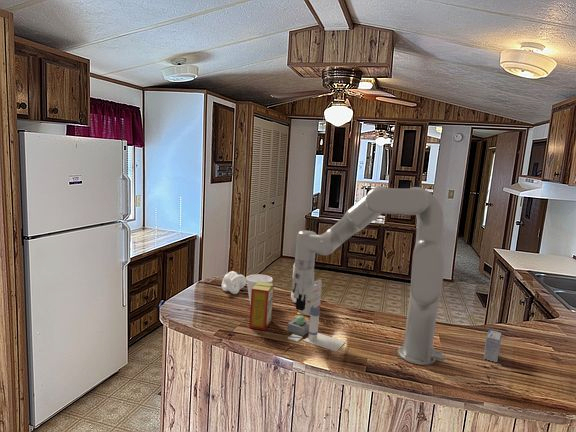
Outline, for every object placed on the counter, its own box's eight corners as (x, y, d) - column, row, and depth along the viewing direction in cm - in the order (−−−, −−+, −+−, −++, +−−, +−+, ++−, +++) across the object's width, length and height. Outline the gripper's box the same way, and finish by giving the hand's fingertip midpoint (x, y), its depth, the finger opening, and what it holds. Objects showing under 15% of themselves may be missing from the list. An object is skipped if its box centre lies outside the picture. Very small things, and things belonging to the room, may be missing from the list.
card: (302, 337, 148) (302, 336, 148) (297, 341, 145) (297, 340, 144) (292, 334, 150) (292, 333, 150) (287, 338, 147) (287, 337, 146)
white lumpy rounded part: (214, 290, 192) (215, 272, 190) (232, 285, 201) (233, 268, 200) (229, 296, 185) (230, 278, 183) (248, 291, 194) (249, 273, 192)
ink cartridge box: (310, 307, 178) (313, 276, 176) (319, 311, 176) (322, 279, 173) (299, 313, 172) (302, 280, 170) (308, 316, 169) (311, 283, 167)
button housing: (311, 329, 156) (311, 322, 155) (303, 336, 150) (303, 328, 149) (295, 324, 159) (296, 317, 159) (286, 331, 153) (287, 323, 153)
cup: (270, 311, 171) (272, 283, 169) (242, 309, 171) (244, 281, 169) (271, 301, 183) (273, 275, 181) (246, 299, 183) (247, 273, 181)
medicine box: (496, 363, 140) (500, 340, 138) (482, 359, 142) (486, 336, 141) (498, 355, 146) (502, 332, 145) (485, 351, 149) (488, 329, 147)
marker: (318, 339, 147) (321, 309, 146) (314, 342, 144) (317, 311, 143) (310, 336, 149) (313, 306, 147) (306, 340, 146) (309, 309, 144)
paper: (345, 342, 147) (345, 341, 147) (336, 351, 139) (336, 350, 139) (314, 332, 153) (314, 331, 153) (303, 341, 146) (303, 340, 146)
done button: (305, 326, 155) (306, 316, 154) (301, 329, 152) (302, 319, 151) (297, 324, 156) (298, 314, 156) (293, 327, 153) (294, 317, 153)
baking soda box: (265, 330, 152) (268, 290, 150) (249, 327, 154) (251, 287, 151) (271, 320, 162) (274, 282, 159) (255, 318, 163) (258, 280, 160)
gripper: (304, 269, 142) (299, 318, 145) (321, 261, 155) (317, 306, 158) (286, 265, 146) (282, 312, 148) (304, 257, 159) (300, 301, 161)
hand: (300, 309), depth 153 cm, fingers closed
